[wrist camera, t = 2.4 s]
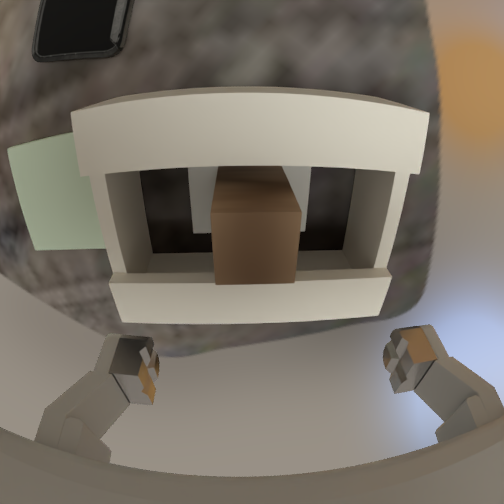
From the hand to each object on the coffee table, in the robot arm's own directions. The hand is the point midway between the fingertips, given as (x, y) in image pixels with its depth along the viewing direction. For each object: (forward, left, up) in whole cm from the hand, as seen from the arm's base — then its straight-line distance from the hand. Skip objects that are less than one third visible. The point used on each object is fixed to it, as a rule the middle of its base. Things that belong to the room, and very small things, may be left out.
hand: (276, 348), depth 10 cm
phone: (-11, +18, -15) cm, 26 cm away
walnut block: (0, 0, -13) cm, 13 cm away
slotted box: (0, 0, -15) cm, 15 cm away
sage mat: (-15, 0, -15) cm, 21 cm away
